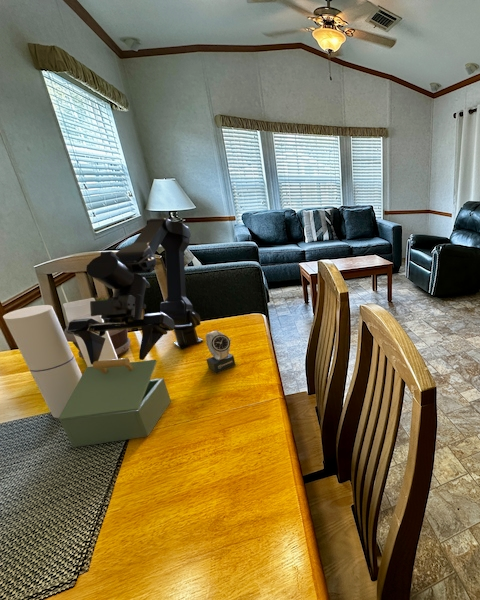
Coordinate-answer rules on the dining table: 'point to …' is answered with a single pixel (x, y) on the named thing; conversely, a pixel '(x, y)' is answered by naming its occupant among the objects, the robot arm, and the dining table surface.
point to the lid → (109, 388)
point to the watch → (219, 352)
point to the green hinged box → (120, 420)
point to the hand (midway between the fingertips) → (117, 362)
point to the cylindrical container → (45, 353)
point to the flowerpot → (116, 336)
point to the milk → (83, 311)
